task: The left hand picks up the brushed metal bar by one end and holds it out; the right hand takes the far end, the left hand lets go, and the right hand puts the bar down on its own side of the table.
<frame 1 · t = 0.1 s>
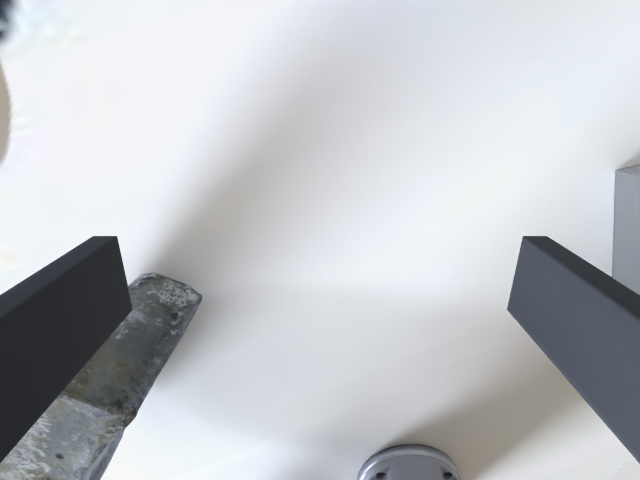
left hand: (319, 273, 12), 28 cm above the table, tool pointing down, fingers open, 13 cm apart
bar: (633, 279, 44), on the table
concrete block: (141, 343, 47), on the table
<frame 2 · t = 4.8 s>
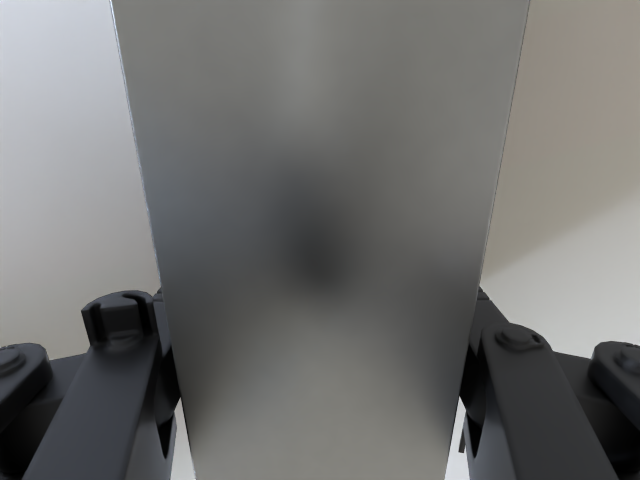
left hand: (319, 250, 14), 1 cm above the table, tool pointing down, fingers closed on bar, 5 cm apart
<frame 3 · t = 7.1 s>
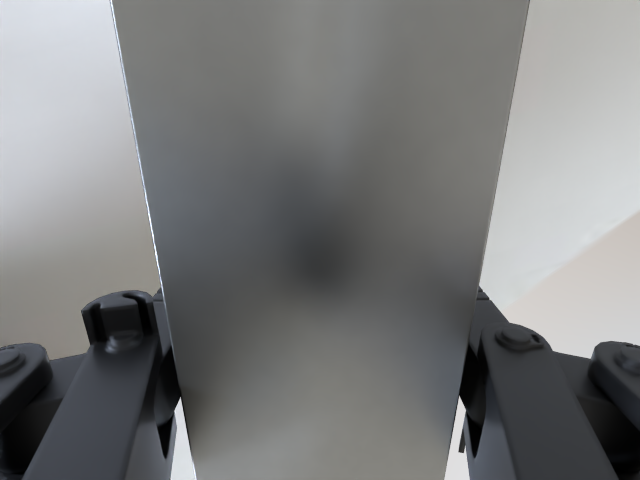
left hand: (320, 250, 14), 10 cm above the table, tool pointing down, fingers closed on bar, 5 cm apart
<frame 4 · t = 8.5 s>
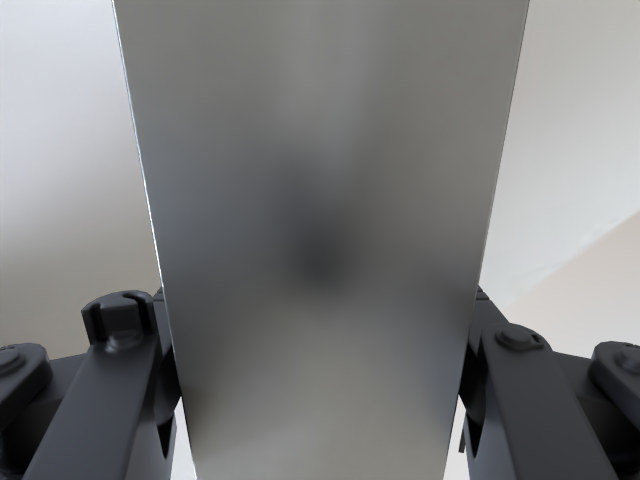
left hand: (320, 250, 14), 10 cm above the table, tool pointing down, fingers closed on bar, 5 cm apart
when the left hand's fingers open (10 cm above the table, at t = 9.3 s): bar stays where it is, held by the right hand.
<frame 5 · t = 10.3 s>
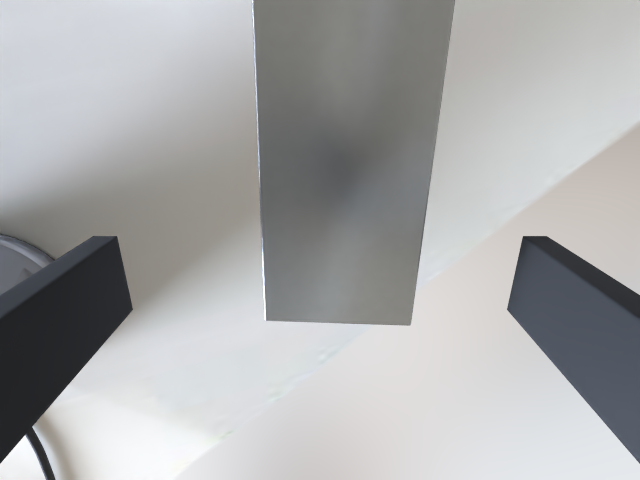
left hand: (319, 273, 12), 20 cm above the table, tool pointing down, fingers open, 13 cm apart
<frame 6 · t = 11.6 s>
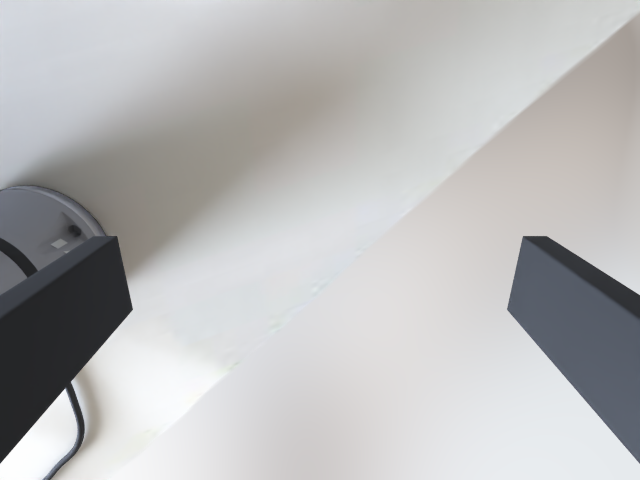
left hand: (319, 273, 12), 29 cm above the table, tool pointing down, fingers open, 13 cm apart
when the right hand's fingers open (4 cm above the table, at t = 15.0 s): bar stays where it is, on the table.
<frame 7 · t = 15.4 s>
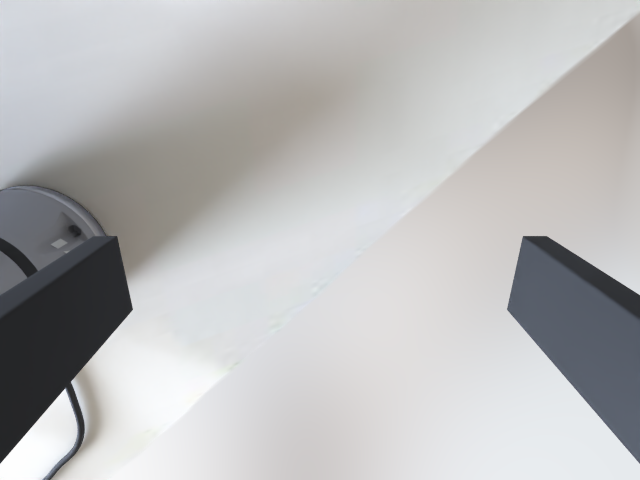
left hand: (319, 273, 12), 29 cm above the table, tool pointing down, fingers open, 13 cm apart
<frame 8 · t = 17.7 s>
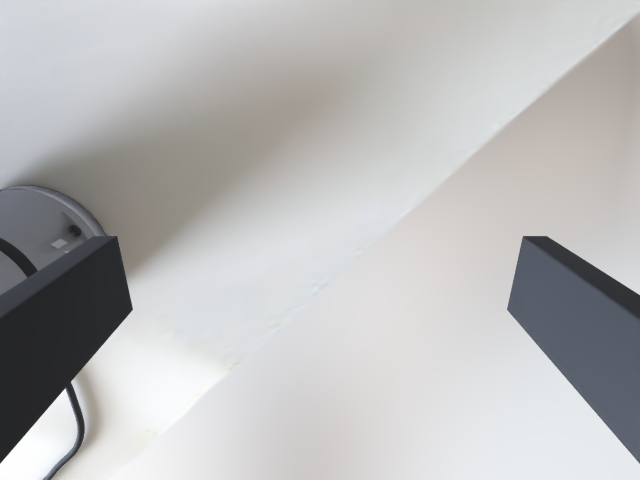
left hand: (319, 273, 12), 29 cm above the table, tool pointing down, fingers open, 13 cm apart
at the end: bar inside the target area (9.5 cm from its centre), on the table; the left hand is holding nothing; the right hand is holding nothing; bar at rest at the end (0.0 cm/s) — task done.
